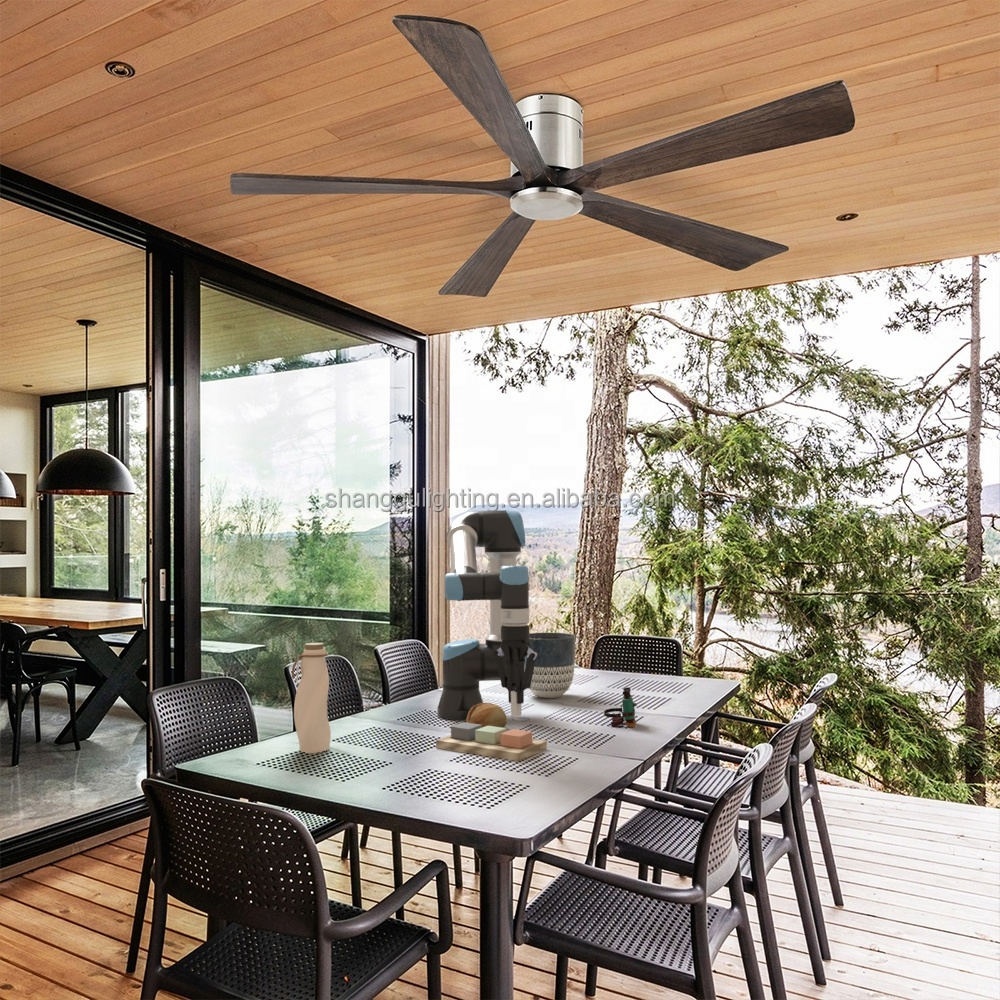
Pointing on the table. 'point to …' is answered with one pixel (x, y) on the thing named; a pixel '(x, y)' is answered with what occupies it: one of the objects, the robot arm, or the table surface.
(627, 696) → the binoculars
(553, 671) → the planter
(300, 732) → the water bottle
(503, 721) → the bread roll
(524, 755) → the board
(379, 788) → the table surface
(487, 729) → the sage tile
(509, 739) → the terracotta tile
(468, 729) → the charcoal tile
